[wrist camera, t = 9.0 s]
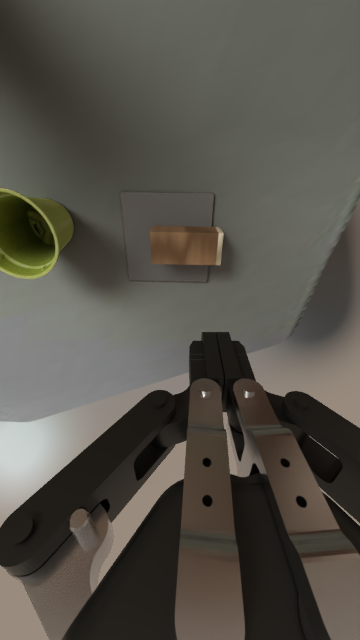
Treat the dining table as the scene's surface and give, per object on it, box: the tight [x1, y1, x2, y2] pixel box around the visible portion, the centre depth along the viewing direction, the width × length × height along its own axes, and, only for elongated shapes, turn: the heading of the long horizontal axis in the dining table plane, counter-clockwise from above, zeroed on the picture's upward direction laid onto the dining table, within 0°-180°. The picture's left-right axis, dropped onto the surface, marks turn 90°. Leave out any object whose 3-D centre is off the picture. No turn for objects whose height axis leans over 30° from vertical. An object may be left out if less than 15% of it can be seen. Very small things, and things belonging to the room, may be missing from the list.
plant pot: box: [0, 188, 74, 279], centre depth 29 cm, size 9×9×9 cm
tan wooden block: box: [150, 226, 224, 265], centre depth 32 cm, size 4×4×9 cm
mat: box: [120, 192, 214, 282], centre depth 34 cm, size 12×12×1 cm
